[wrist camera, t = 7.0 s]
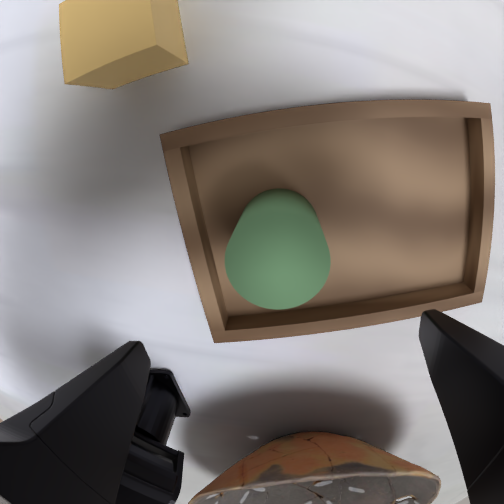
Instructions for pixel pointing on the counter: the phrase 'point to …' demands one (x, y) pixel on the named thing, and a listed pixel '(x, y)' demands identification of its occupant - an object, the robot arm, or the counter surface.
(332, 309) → the serving tray
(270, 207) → the cucumber chunk
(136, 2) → the cheddar cube
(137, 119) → the counter surface
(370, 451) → the bowl
